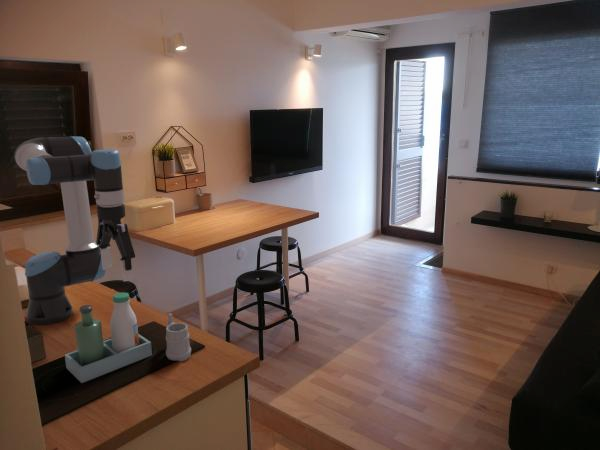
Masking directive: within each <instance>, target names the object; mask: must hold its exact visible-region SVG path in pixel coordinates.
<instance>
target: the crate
mask: <svg viewBox="0 0 600 450" xmlns="http://www.w3.org/2000/svg"><path fill="white" fill-rule="evenodd" d="M138 337H139V345H138V346H136V347H133V348H130V349H128V350H125V351H122V352H120V353H116V352H115V351H114V350H113V348H112V339H111V338H108V339H105V340H103V343H104V352H105V358H104V359H101V360H98V361H96V362H93V363H90V364H88V365H85V366H82V367H81V366H80V365H79V357H78V349H77V350H73V351H72V352H68V353H66V354H64V360H65V367H66V370H67V371H69V372H70V374H71V375H73V376H74V378H75V379H77V380H78V382H80V384H83V383H86V382H89V381H91V380H93V379H96V378H98V377H101V376H104V375H106V374H108V373H112V372H113V371H116V370H118V369H121V368H123V367H126V366H129V365H132V364H134V363H136V362H139V361H142V360H144V359H146V358H149V357H151V356H153V351H152V342H151V341H150V340H148V339H147V338H146V337H144V336H142V335H141V334H140V333H138Z"/></svg>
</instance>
